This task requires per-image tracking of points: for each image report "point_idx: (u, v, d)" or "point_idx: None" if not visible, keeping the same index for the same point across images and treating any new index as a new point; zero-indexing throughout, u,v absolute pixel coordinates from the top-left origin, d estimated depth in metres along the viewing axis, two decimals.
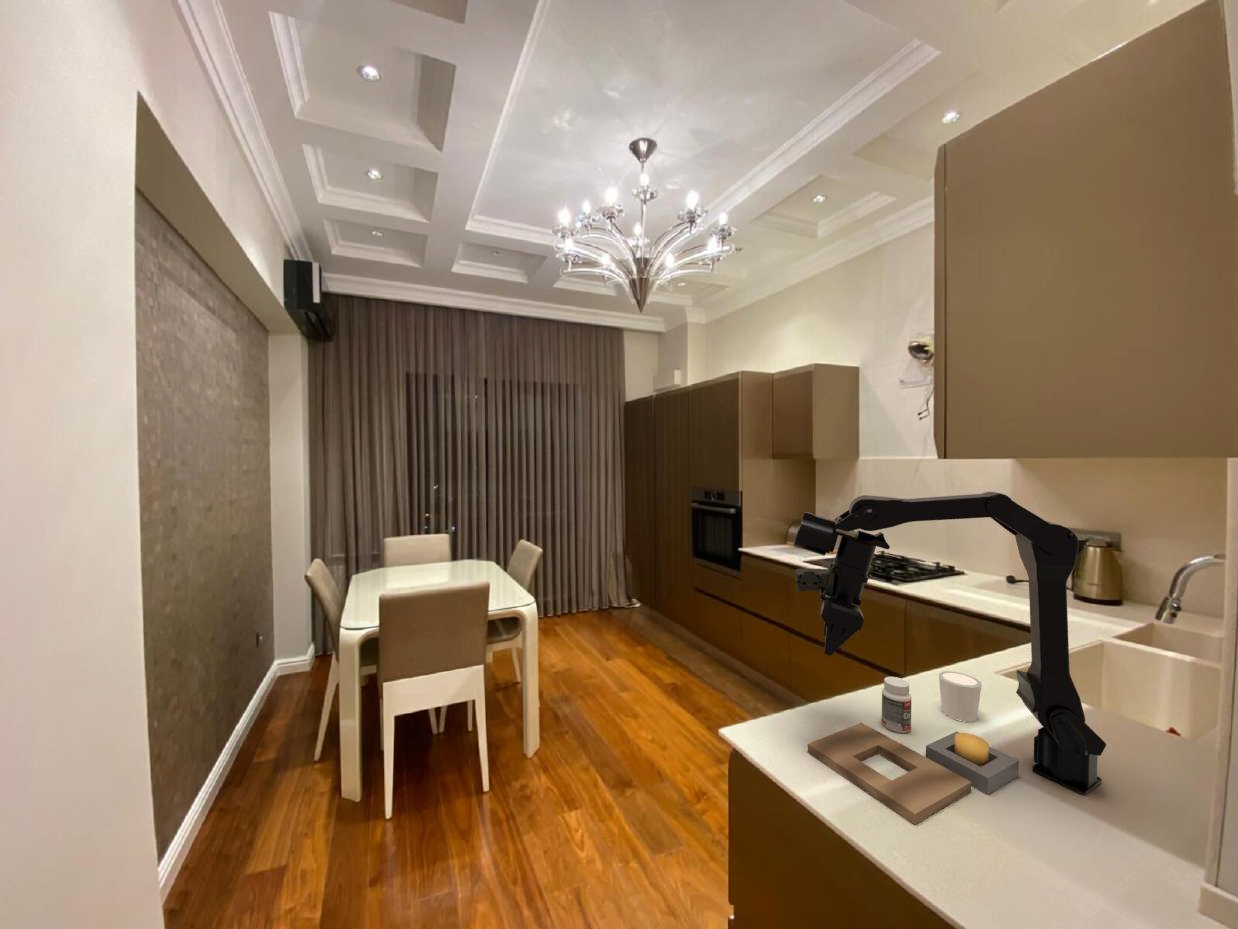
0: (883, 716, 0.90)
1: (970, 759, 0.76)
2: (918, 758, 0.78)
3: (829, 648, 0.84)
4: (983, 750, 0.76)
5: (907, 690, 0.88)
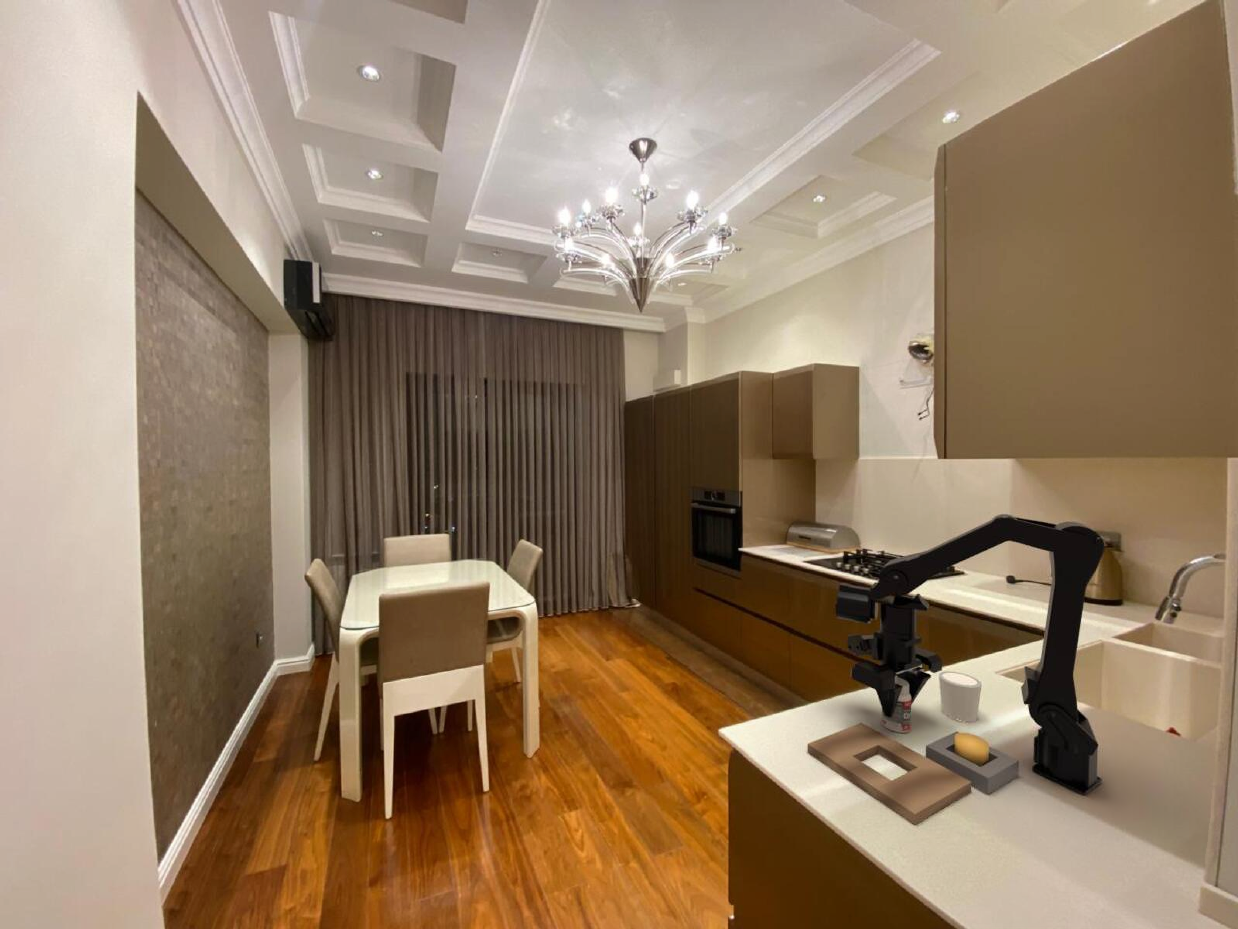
0: (883, 716, 0.90)
1: (970, 759, 0.76)
2: (918, 758, 0.78)
3: (885, 709, 0.88)
4: (983, 750, 0.76)
5: (907, 690, 0.88)
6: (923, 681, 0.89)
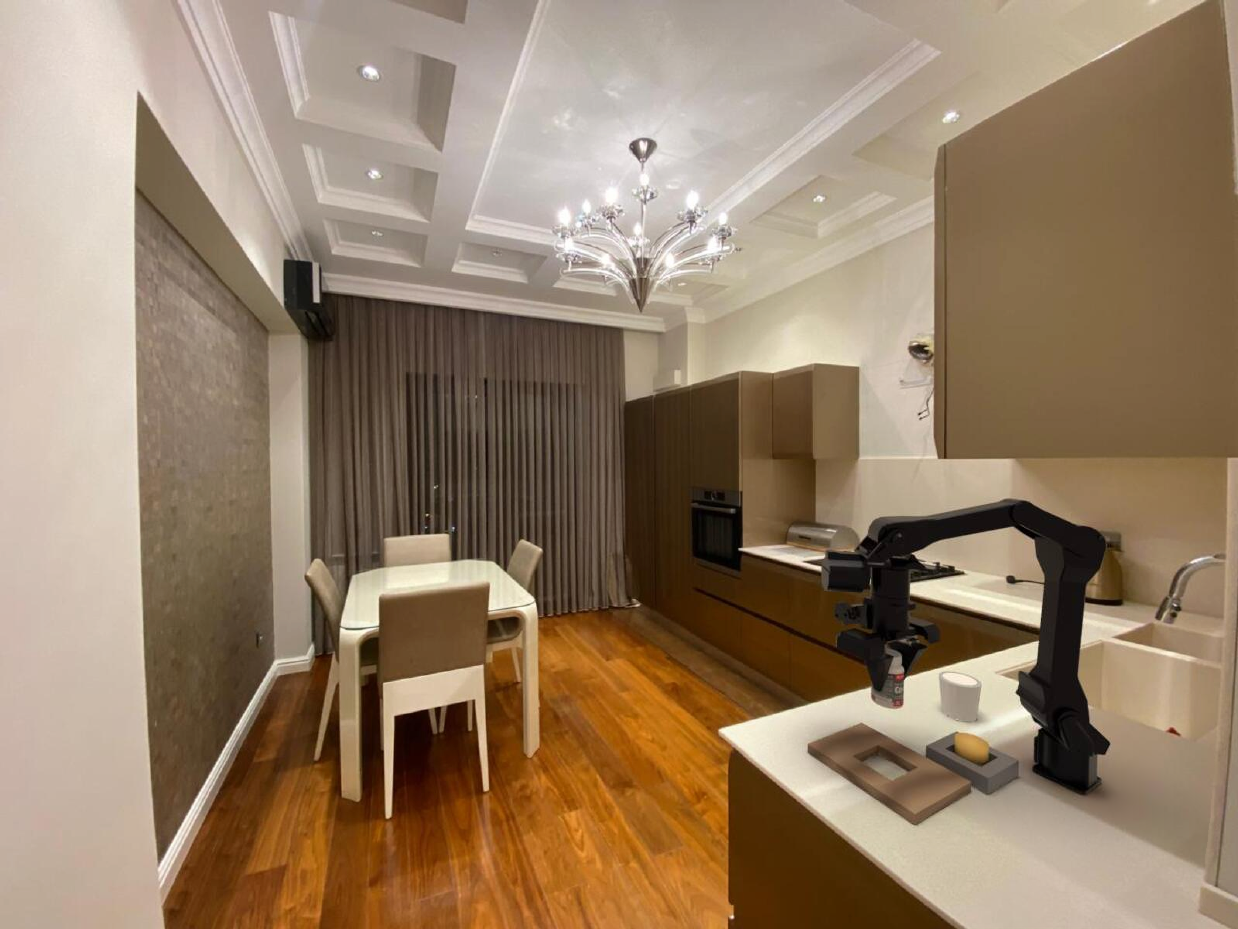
0: (872, 691, 0.81)
1: (970, 759, 0.76)
2: (918, 758, 0.78)
3: (875, 683, 0.79)
4: (983, 750, 0.76)
5: (899, 661, 0.79)
6: (918, 652, 0.80)
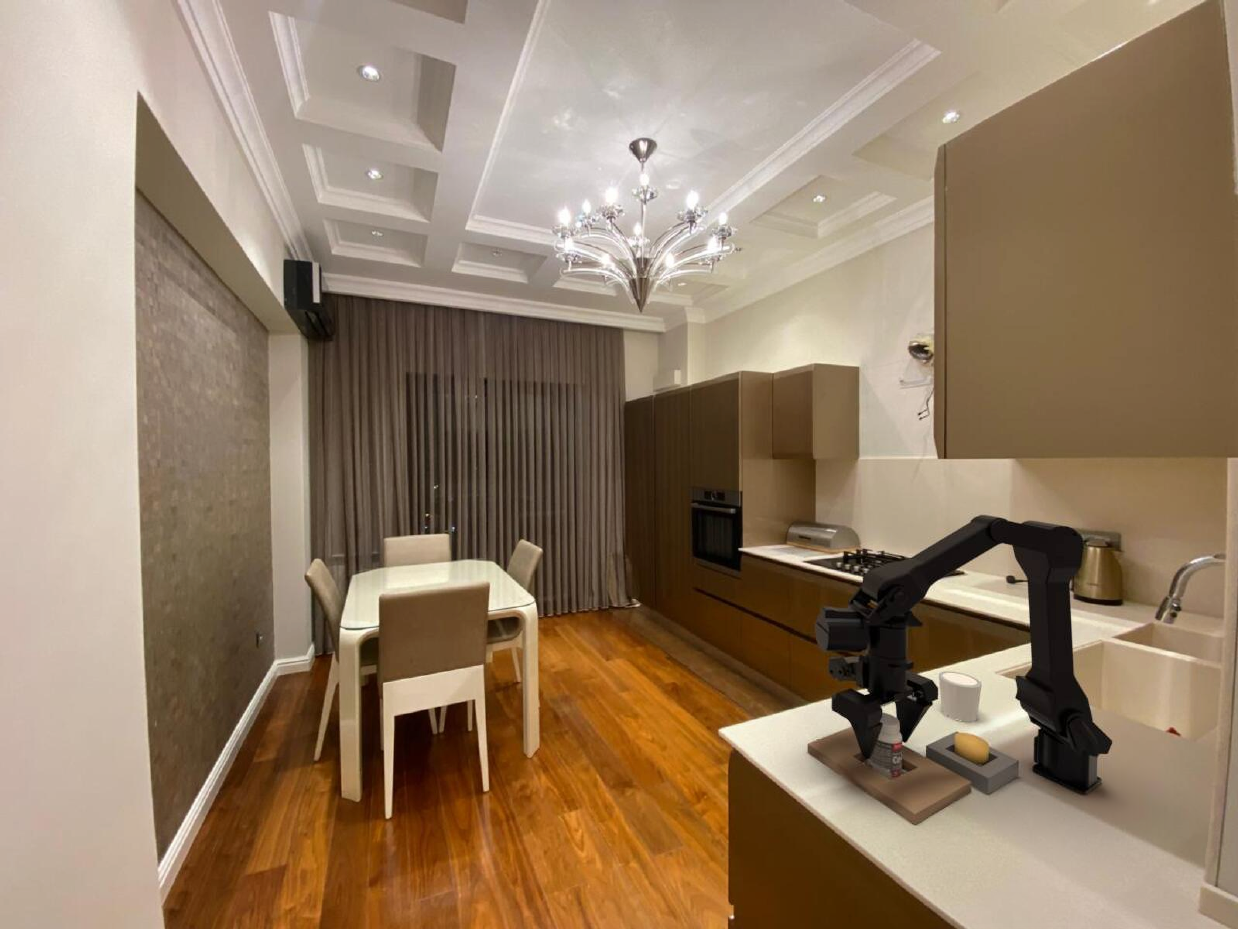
0: (869, 759, 0.77)
1: (970, 759, 0.76)
2: (918, 758, 0.78)
3: (863, 749, 0.75)
4: (983, 750, 0.76)
5: (897, 729, 0.75)
6: (924, 710, 0.77)
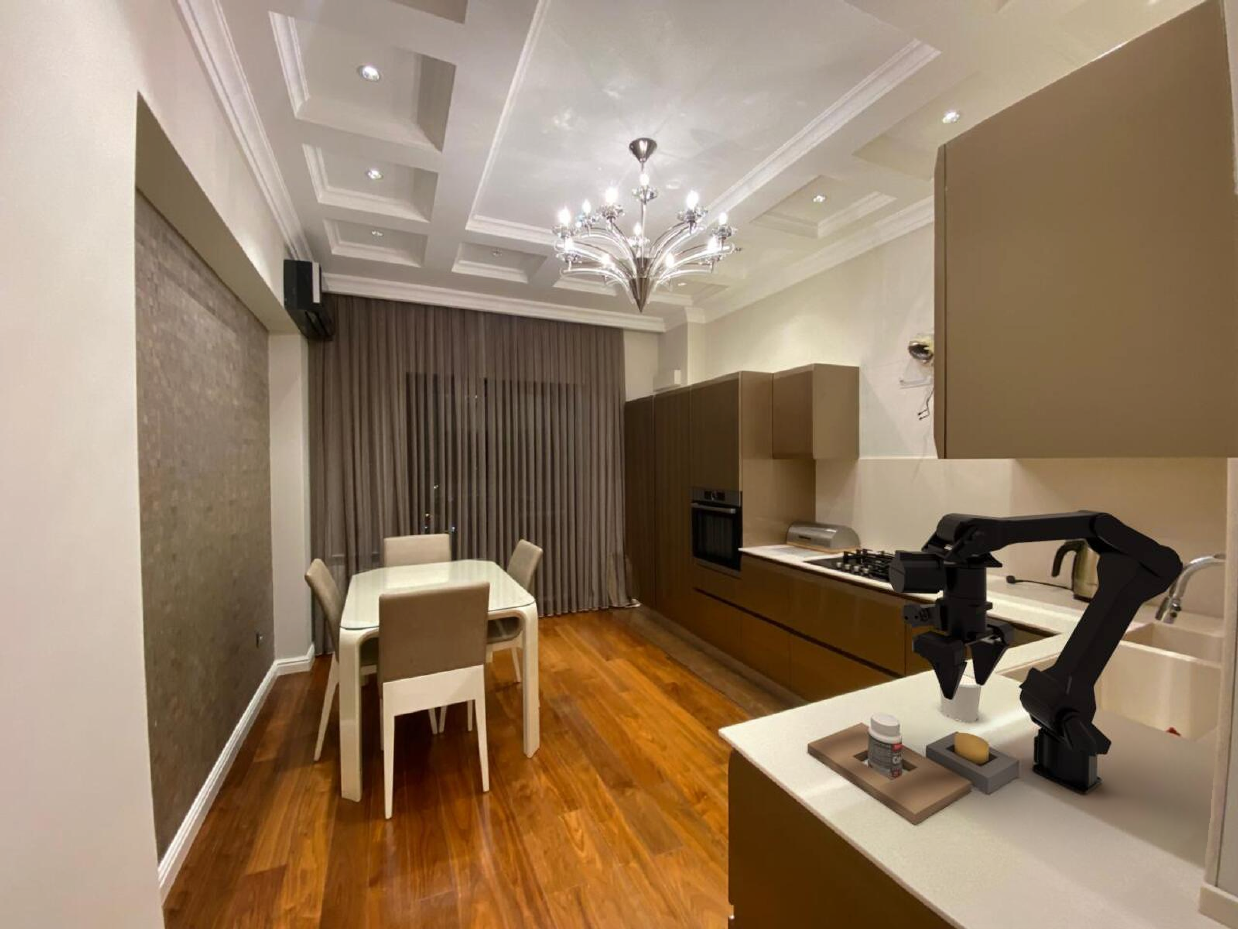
0: (869, 759, 0.77)
1: (970, 759, 0.76)
2: (918, 758, 0.78)
3: (946, 690, 0.75)
4: (983, 750, 0.76)
5: (897, 729, 0.75)
6: (1002, 651, 0.78)
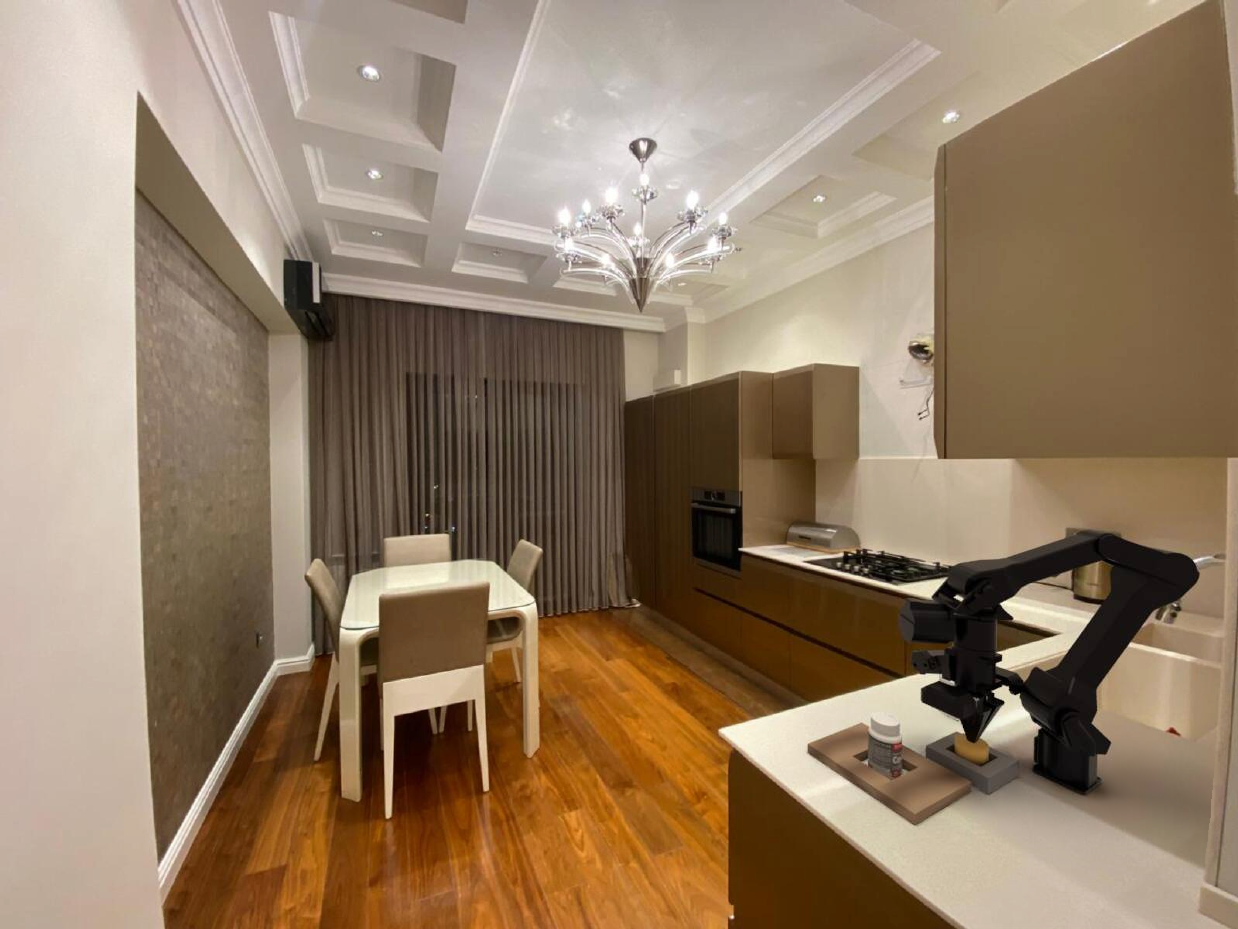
0: (869, 759, 0.77)
1: (970, 760, 0.76)
2: (918, 758, 0.78)
3: (969, 734, 0.77)
4: (983, 751, 0.76)
5: (897, 729, 0.75)
6: (996, 709, 0.76)
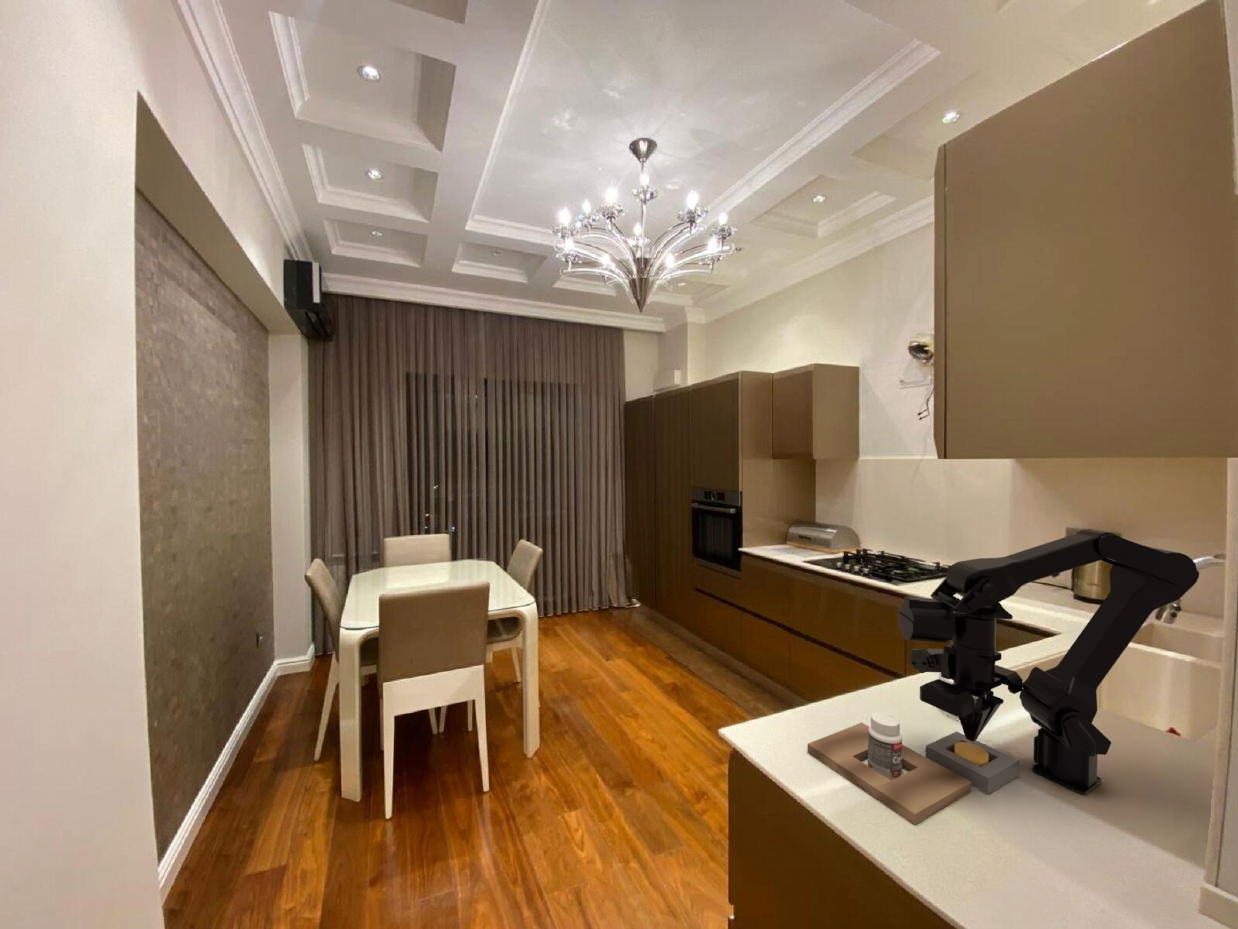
0: (869, 759, 0.77)
1: None
2: (918, 758, 0.78)
3: (968, 732, 0.77)
4: (983, 760, 0.76)
5: (897, 729, 0.75)
6: (995, 707, 0.76)
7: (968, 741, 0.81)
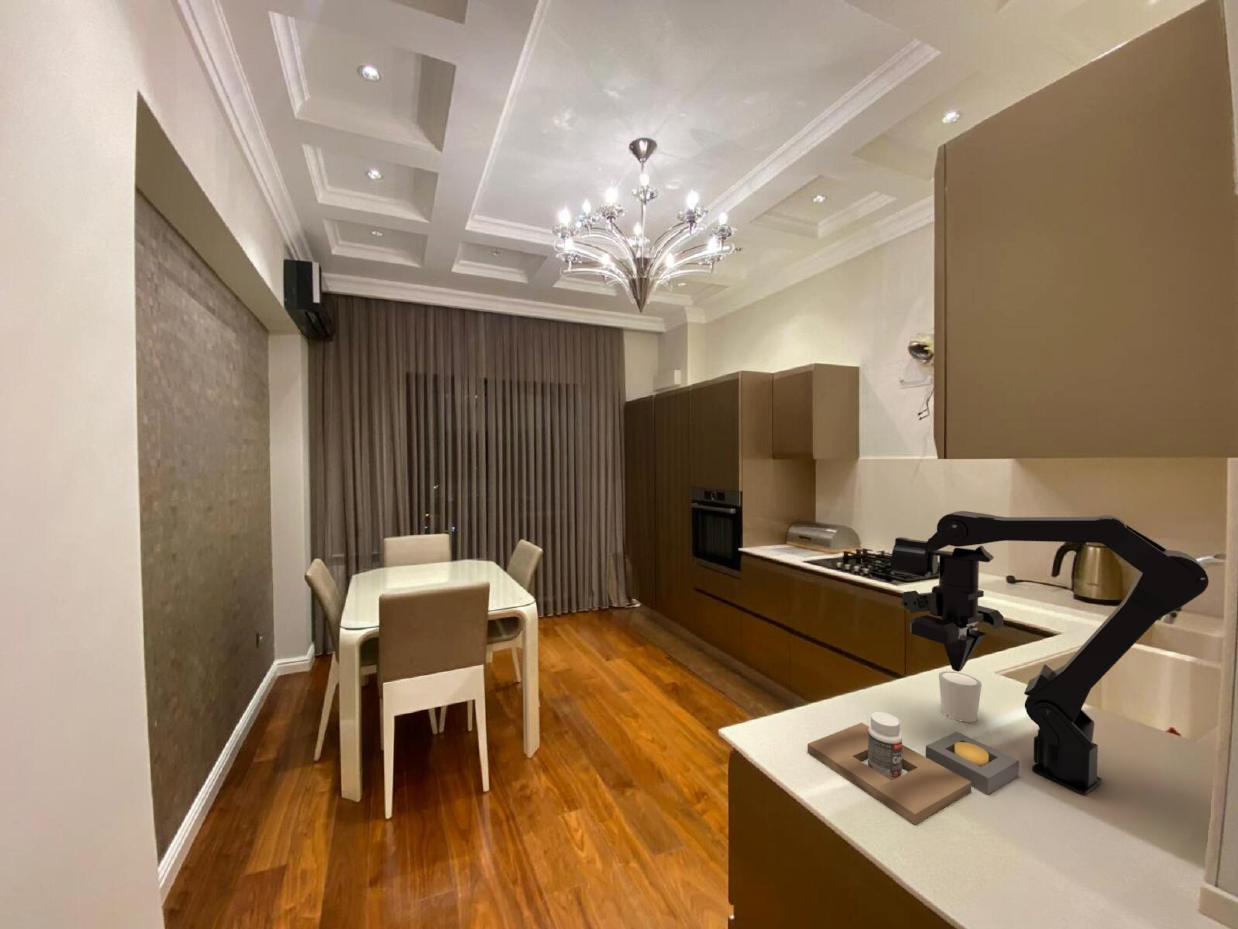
0: (869, 759, 0.77)
1: None
2: (918, 758, 0.78)
3: (954, 663, 0.86)
4: (983, 760, 0.76)
5: (897, 729, 0.75)
6: (978, 639, 0.84)
7: (968, 741, 0.81)
